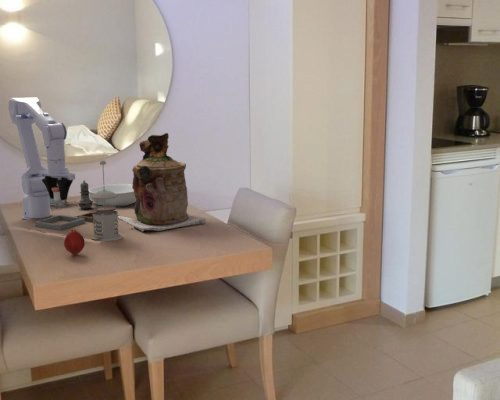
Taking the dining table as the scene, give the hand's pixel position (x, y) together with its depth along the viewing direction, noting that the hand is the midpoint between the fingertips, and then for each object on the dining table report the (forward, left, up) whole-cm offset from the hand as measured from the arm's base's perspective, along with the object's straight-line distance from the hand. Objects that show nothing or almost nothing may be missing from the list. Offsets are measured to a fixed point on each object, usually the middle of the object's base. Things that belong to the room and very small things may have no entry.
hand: (58, 199), depth 208 cm
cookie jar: (+26, +23, -10) cm, 36 cm away
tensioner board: (+2, +14, -10) cm, 17 cm away
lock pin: (0, +1, -3) cm, 3 cm away
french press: (+22, -2, -10) cm, 24 cm away
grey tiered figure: (-10, +23, -10) cm, 27 cm away
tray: (0, 0, -10) cm, 10 cm away
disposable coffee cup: (-29, +27, -10) cm, 41 cm away
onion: (+28, -22, -10) cm, 37 cm away
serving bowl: (-7, +37, -10) cm, 39 cm away
